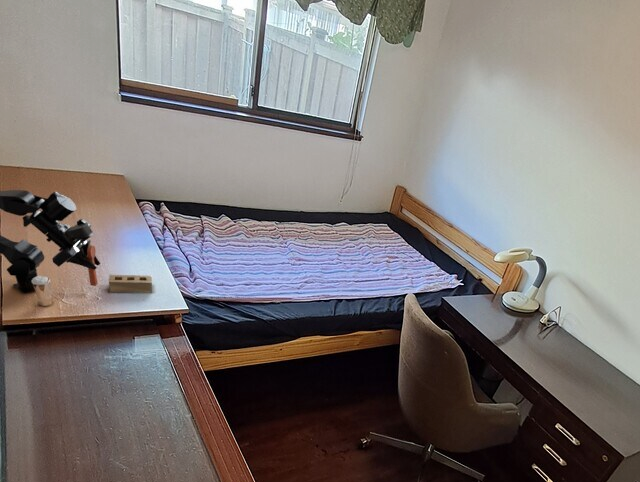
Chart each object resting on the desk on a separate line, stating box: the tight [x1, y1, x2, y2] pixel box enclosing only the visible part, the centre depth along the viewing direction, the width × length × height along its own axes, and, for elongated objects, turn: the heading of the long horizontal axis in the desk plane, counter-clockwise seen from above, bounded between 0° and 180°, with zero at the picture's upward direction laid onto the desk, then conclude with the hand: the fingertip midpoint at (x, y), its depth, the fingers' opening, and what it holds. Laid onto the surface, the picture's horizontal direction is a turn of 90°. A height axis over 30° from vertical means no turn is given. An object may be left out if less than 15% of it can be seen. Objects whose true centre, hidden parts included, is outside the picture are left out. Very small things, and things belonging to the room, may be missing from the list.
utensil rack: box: [108, 274, 153, 294], centre depth 159 cm, size 5×13×4 cm, turn 113°
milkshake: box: [31, 275, 53, 307], centre depth 140 cm, size 4×5×10 cm
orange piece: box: [86, 244, 98, 287], centre depth 146 cm, size 2×4×14 cm, turn 9°
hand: (97, 266), depth 147 cm, fingers closed on orange piece, 3 cm apart
